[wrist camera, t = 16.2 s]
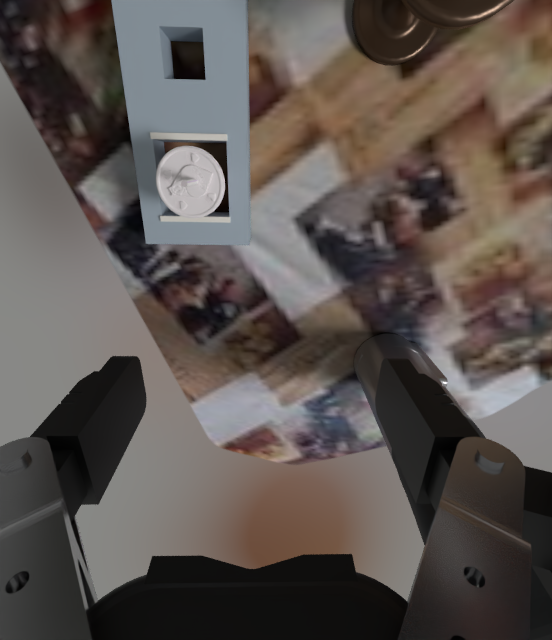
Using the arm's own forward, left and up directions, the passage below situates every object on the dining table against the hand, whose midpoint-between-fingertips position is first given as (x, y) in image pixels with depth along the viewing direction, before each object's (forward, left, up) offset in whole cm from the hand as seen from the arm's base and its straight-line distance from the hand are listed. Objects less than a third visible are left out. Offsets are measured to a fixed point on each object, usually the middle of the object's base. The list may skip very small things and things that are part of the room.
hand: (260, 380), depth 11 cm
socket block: (+8, -10, -34) cm, 36 cm away
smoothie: (+7, -5, -34) cm, 35 cm away
